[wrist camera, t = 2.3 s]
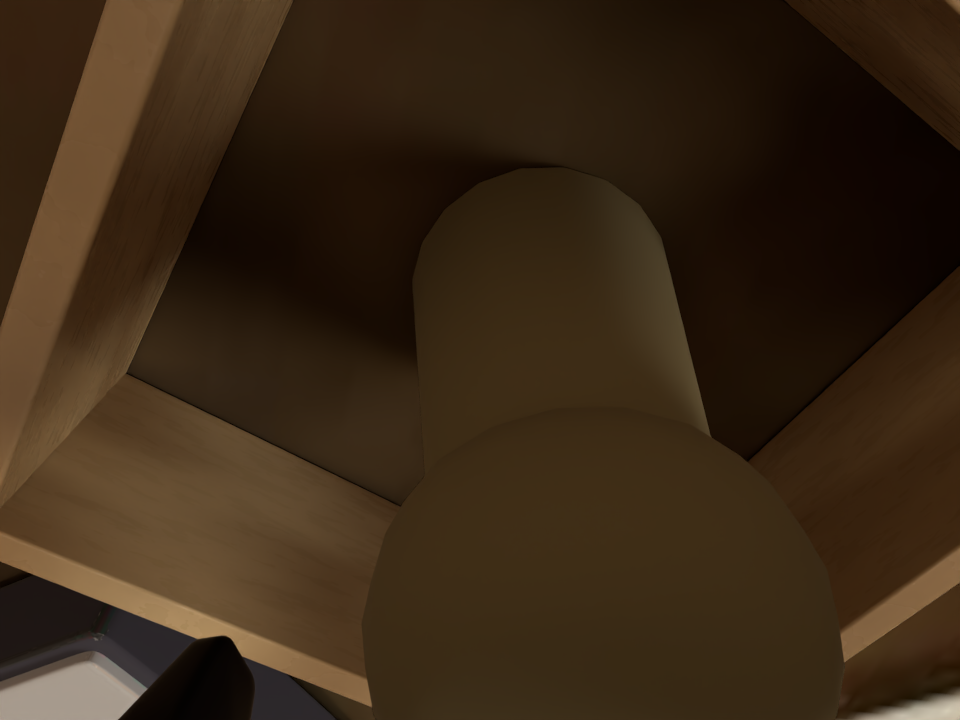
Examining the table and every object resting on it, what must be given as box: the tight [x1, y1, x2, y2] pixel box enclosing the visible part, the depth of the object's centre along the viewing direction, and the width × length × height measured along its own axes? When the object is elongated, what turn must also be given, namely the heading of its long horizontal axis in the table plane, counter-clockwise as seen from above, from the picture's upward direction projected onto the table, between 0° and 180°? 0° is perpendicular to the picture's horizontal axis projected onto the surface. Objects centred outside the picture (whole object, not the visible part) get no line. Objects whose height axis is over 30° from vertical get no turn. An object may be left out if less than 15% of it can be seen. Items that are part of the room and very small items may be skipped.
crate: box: [0, 0, 960, 707], centre depth 13 cm, size 17×17×6 cm
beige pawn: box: [361, 167, 845, 720], centre depth 11 cm, size 6×6×11 cm
